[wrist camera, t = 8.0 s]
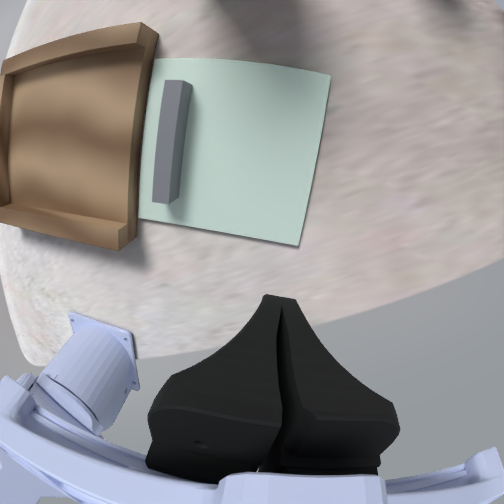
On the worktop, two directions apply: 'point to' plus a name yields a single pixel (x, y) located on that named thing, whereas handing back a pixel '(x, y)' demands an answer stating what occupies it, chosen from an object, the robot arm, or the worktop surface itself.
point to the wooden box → (75, 134)
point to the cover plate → (231, 146)
